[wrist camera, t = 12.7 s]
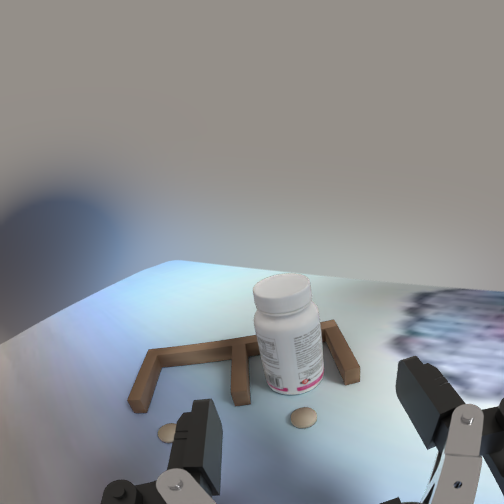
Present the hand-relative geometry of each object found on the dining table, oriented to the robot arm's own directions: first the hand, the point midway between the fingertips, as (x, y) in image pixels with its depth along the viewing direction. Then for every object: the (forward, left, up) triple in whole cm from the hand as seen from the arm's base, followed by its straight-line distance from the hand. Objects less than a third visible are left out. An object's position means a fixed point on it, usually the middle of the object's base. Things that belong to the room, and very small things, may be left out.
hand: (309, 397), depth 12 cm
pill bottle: (0, -10, -8) cm, 13 cm away
